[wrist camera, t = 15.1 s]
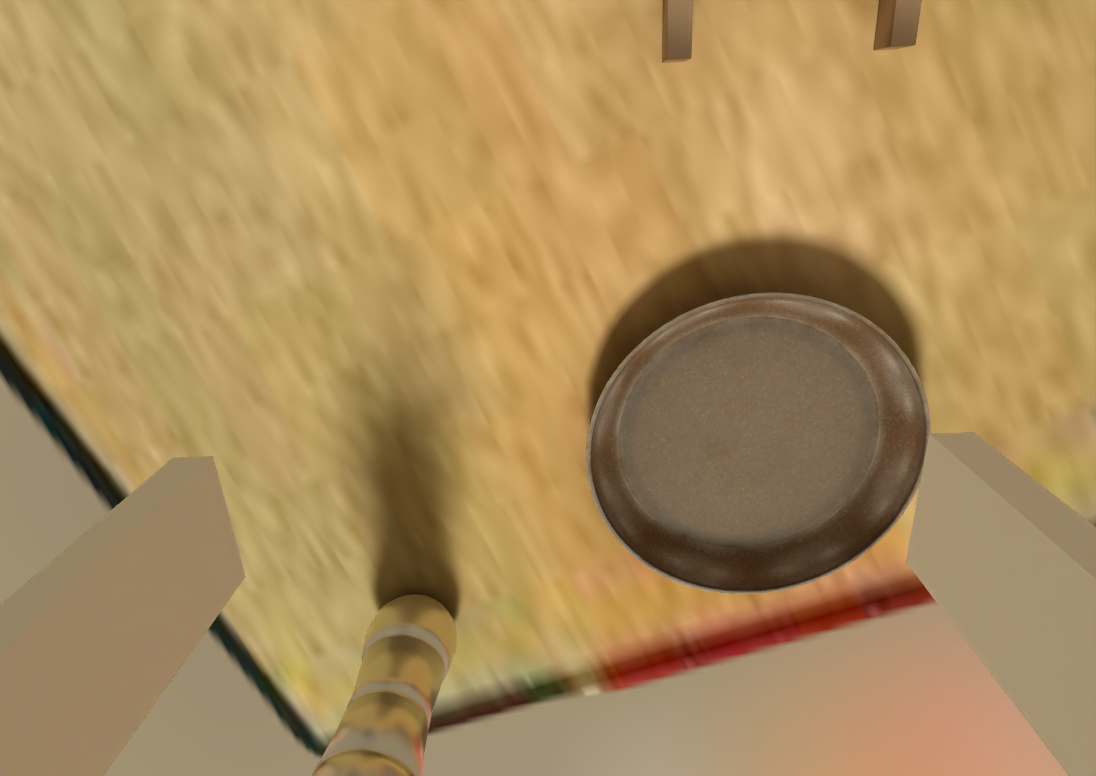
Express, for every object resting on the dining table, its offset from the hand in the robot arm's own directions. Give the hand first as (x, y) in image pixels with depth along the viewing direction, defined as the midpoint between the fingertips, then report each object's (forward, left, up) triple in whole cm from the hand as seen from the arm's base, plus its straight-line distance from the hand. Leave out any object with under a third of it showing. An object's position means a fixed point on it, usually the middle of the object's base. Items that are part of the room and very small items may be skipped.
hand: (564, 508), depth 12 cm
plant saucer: (+17, 0, -29) cm, 34 cm away
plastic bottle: (+13, -27, -29) cm, 42 cm away
